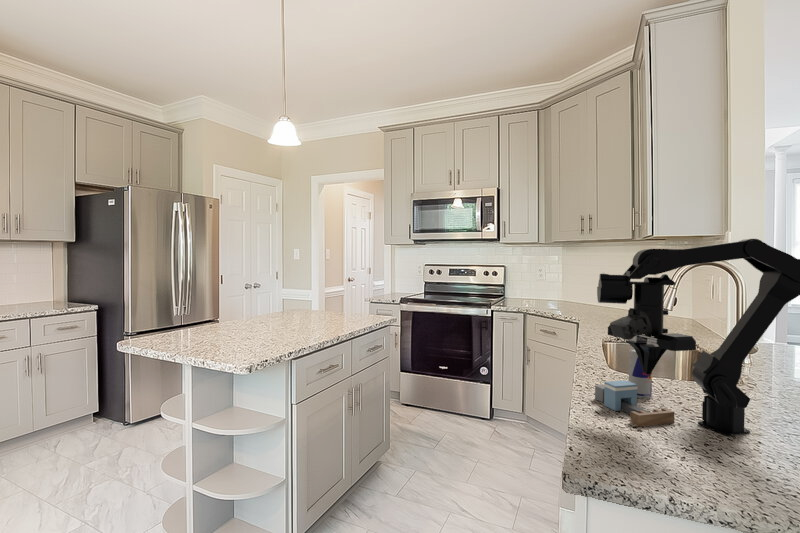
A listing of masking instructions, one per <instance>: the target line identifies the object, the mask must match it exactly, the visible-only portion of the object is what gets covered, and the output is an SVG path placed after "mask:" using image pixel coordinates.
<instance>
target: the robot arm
mask: <svg viewBox="0 0 800 533" xmlns="http://www.w3.org/2000/svg"><path fill="white" fill-rule="evenodd" d="M739 259H743V260H745V261H746V262H747V263H748V264H750V266H752V267H753V268H754V269H756V270H757V271H758V272H761V273H762V274H761V277H760V279H759V283H758V284H759V286H758V292H757V295H756V296H755V297H754V299H753V300H752V302H751V303H750V304H749V306H748V307H747V309H746V310H745V311H744V312H743V314H742V315H741V317H740V318H739V319H738V321H737V323H736V324H735V325H734V327H733V328H732V329H731V330H730V332H729V333H728V335H727V336H726V338H725V339H724V340H723V342H722V343H721V345H720V346H719V347H718V348H717V349H716V350H714V351H712V352H711V353H709V352H707V351H705V350H703V351H701V353H700V355H699V357H698V359H697V360H696V361H695V362H694V363H692V364H691V366H692V367H693V369H692V371H691V375H692V377H693V381H694V382H695V384H697V385H698V386H699V387H701V390H702V392H703V394H705V395H703V401H702V403H701V404H702V406H701V407H702V411H701V412H702V414H701V419H702V420H701V421H700V420H699V421H697V424H698V425H700V426H701V427H705V428H707V429H709V430H712V431H714V432H716V433H718V434H721V435H724V436H728V437H730V436H738V435H744V434H745V435H747V434H751V430H750V429H748V428H745V413H746V412H745V410H746V408H747V407H748V405H749V403H750V401H751V398H750V397H749V396H748V395H747V394H746V393H745V392H743V390H742V389H740V388H739V387H738V383H739V382H740V379H741V377H742V371H743V365H744V364H743V363H744V361H745V359H747V356H749V354H750V352H752V350H753V349H754V348H755V346H756V345H757V344H758V342H759V340H761V338H762V337H763V335H764V334H765V332H766V331H767V330H768V328H769V327H770V325H772V323H773V322H774V321H775V319H776V318H777V317H778V315H779V313H780V312H781V311H782V309H783V308H784V307H785V306H786V305H787V304H788V303H790V302H791V301H793V300H794V299H796V298H798V297H799V296H800V258H796V257H795V256H793V255H792V254H789V253H787V252H784V251H782V250H780V249H777V248H776V247H773V246H772V245H771V246H770V245H769V244H767V243H766V242H764V241H762V240H761V239H758V238H748V239H741V240H738V241H733V242H725V243H718V244H711V245H710V244H709V245H703V246H696V247H688V248H683V249H681V248H648V249H641V250H639V251H637V252H636V253H635V255H633V257H632V264H631V265H630V266H629V267H628V268H627V270H625V272H624V273H623V274H609V273H599V278H598V286H596V294H597V295H596V296H597V298H596V299H597V302H598V304H622V305H623V304H625V305H626V304H627V303H628V301H630V300H632V299H633V307H630V308H629V309H628V311H627V312H628V314H627V315H626V316H622V317H620V318H618V319H615V320H613V321H611V322H610V323H609V326H607V335H608V336H611V337H614V338H619V339H622V340H625V343H627V344H628V345H630V346H631V347H632V349H635V351H636V353H637V355H638V358H639V361H640V364H641V367H642V370H643V372H644V374H651V372H652V373H653V371H654V369H655V367H656V365H657V364H658V362H659V361H660V360H661V358H662V357H663V355H664V354H665V352H666V351H671V352H685V351H696V350H697V341H696V339H695V338H694V337H693V336H692V335H687V334H682V333H669V332H668V331H669V329H668V328H665V327H664V316H668V315H669V310H668V309H664V307H665V306H664V305H665V286H675V285H676V282H675V281H674V280H672V279H671V278H670V277H669V275H668V274H665V273H667V272H670V271H674V270H676V269H679V268H683V267H686V266H692V265H700V264H701V265H702V264H707V263H715V262H716V263H718V262H726V261H734V260H739ZM663 273H664V274H663ZM660 274H662V275H661V276H659V277H652V276H651V275H653V276H655V275H660ZM649 275H650V276H651V277H650V276H649ZM646 276H647V277H646ZM643 278H644V279H643ZM641 279H643V281H631V280H641Z"/></svg>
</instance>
